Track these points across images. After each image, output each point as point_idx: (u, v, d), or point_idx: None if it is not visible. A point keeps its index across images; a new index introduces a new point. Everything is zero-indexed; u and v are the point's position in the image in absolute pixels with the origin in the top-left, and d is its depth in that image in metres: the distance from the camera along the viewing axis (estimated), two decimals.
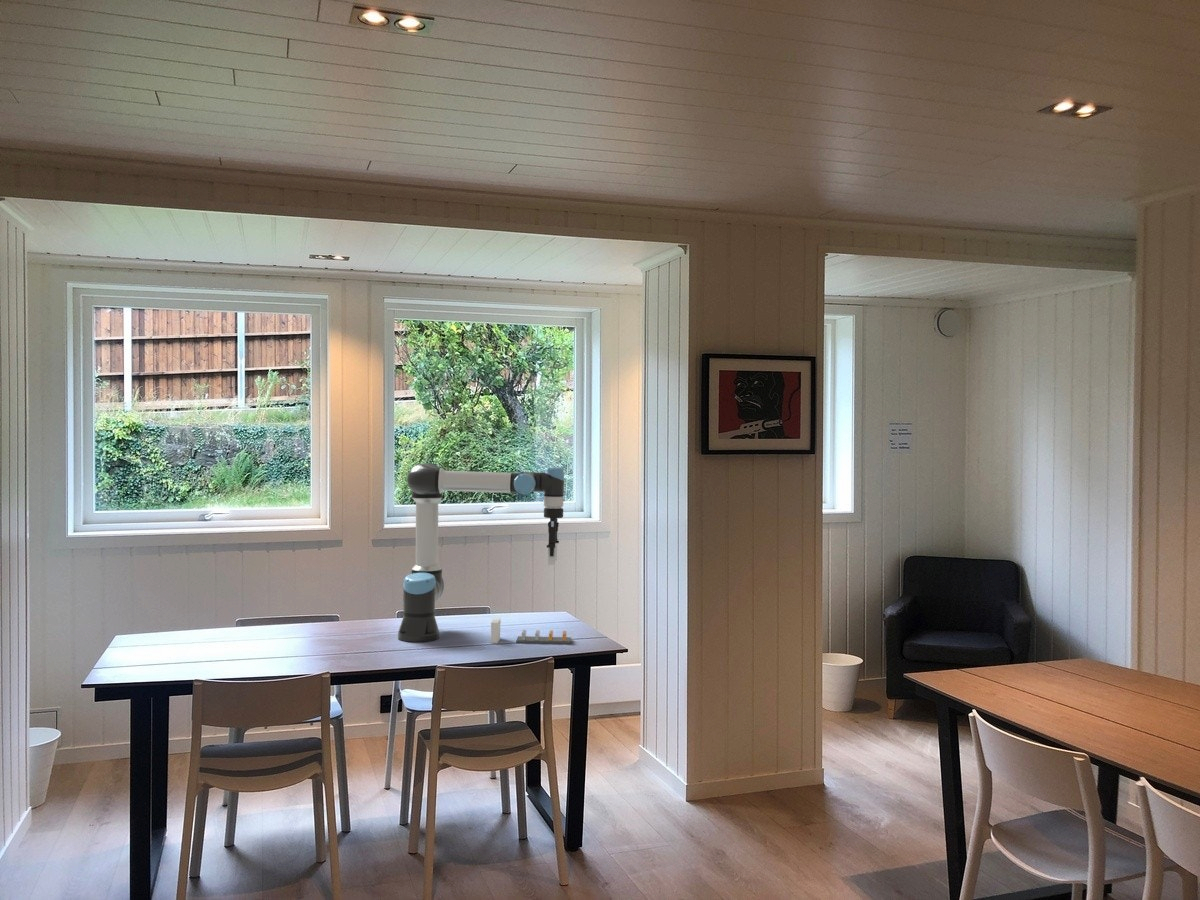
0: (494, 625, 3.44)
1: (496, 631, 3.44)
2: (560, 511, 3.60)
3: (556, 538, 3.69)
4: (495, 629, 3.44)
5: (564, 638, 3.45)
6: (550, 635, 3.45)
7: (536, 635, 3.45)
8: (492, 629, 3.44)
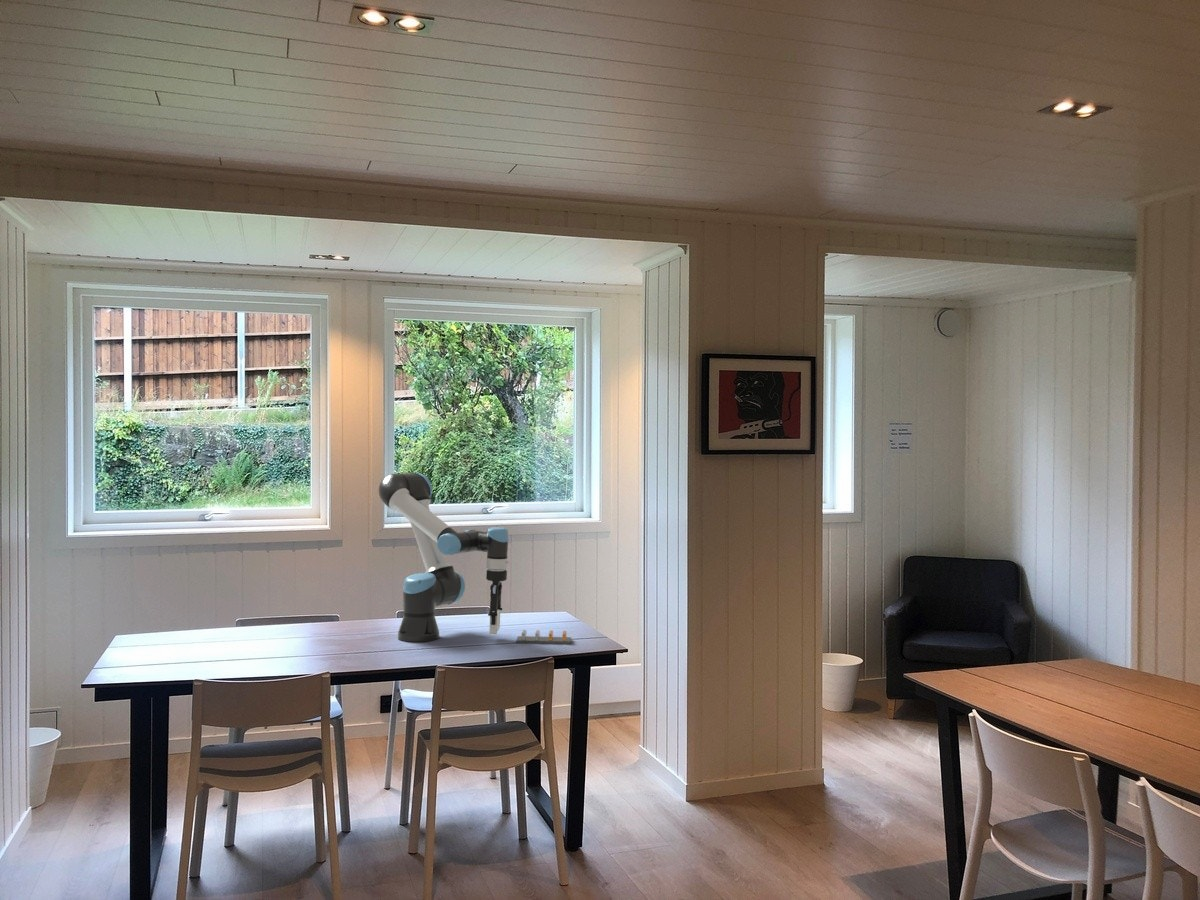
0: None
1: None
2: (503, 574, 3.45)
3: (499, 604, 3.52)
4: None
5: (564, 638, 3.45)
6: (550, 635, 3.45)
7: (536, 635, 3.45)
8: None
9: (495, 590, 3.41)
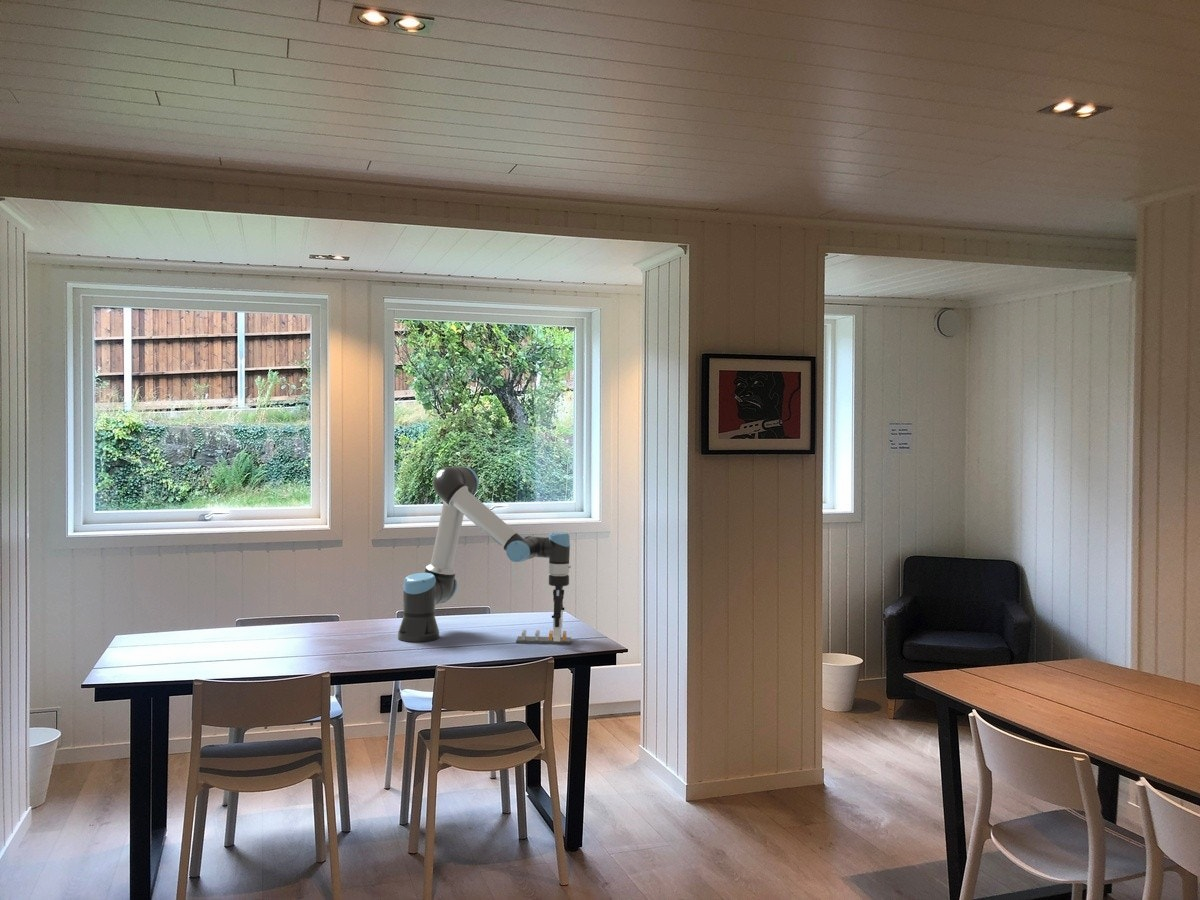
0: None
1: None
2: (566, 579, 3.45)
3: (561, 605, 3.54)
4: None
5: (564, 638, 3.45)
6: (550, 635, 3.45)
7: (536, 635, 3.45)
8: None
9: (559, 592, 3.41)
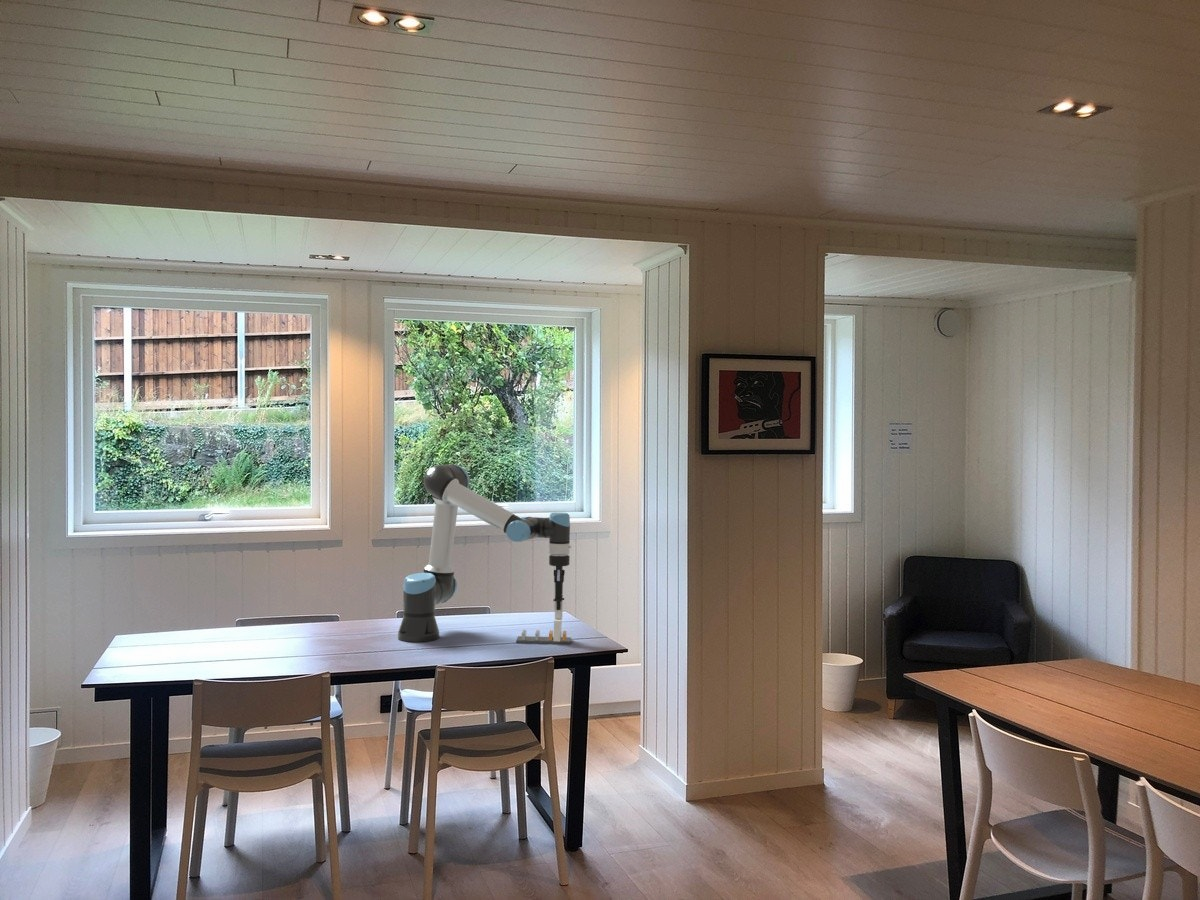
0: (557, 623, 3.44)
1: (559, 629, 3.44)
2: (566, 559, 3.45)
3: None
4: (558, 627, 3.44)
5: (564, 638, 3.45)
6: (550, 635, 3.45)
7: (536, 635, 3.45)
8: (555, 627, 3.44)
9: (559, 578, 3.42)
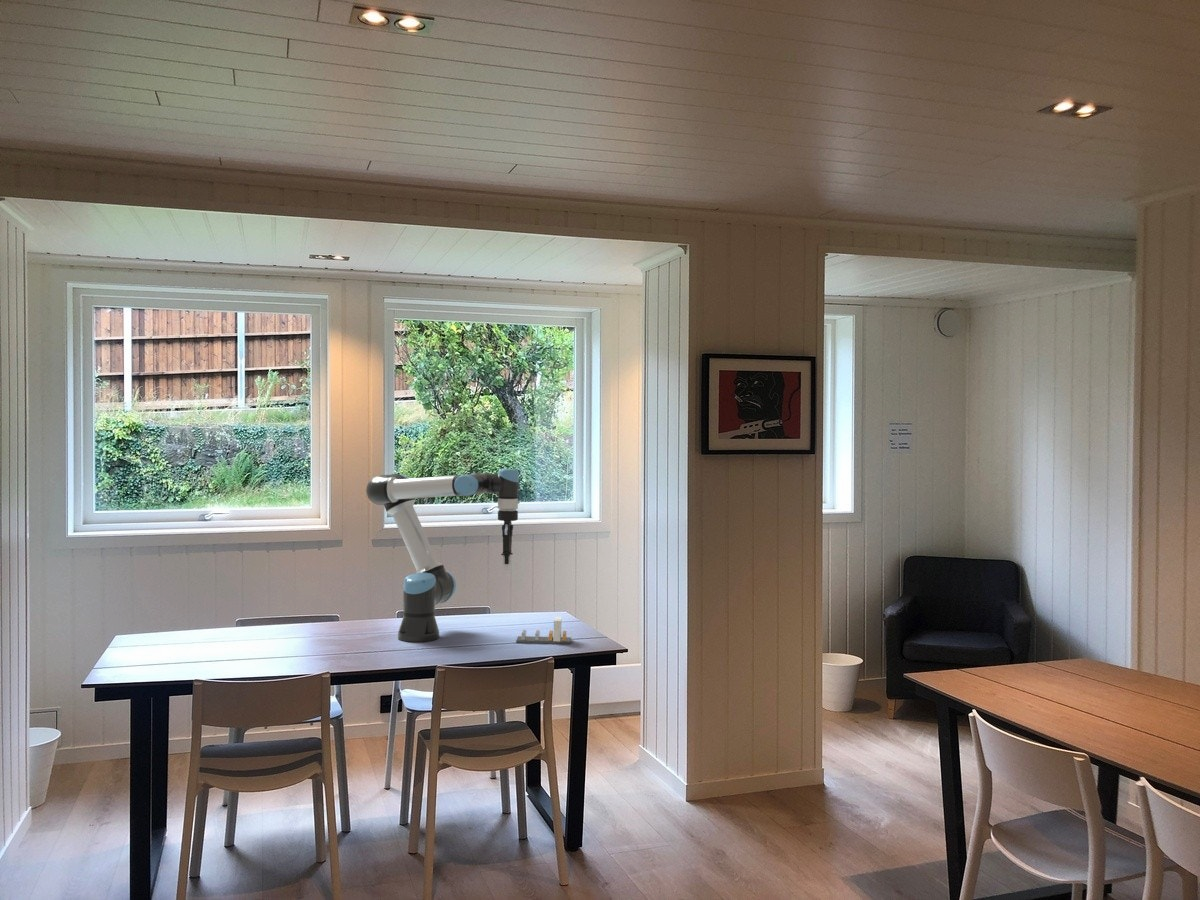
0: (557, 623, 3.44)
1: (559, 629, 3.44)
2: (514, 513, 3.51)
3: (510, 546, 3.55)
4: (558, 627, 3.44)
5: (564, 638, 3.45)
6: (550, 635, 3.45)
7: (536, 635, 3.45)
8: (555, 627, 3.44)
9: (507, 532, 3.48)
